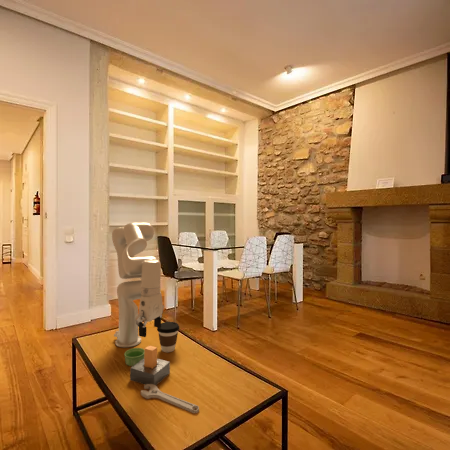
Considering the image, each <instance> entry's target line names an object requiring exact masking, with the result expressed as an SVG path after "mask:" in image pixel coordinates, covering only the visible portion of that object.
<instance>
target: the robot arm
mask: <svg viewBox="0 0 450 450" xmlns="http://www.w3.org/2000/svg"><path fill="white" fill-rule="evenodd" d="M154 234H155V229H154V226H153V225H152V224H151V223H149V222H129V223H127V224H126V225H124V226H119V227H116V228H114V229H113V230H112V232H111V239H112V244H113V246H114V248H115V250H116V251H115V252H116V256H117V266H118V267H117V268H118V269H117V270H118V276H119V278H120V279H122V280H129V279H130V280H131V279H140V280H131V281H124V282H120V283H119V284H118V285H117V287H116V294H117V302H118V330H116V331H115V333H114V334H113V336H114V337H117V338H116V340H115V345H116V346H117V347H119V348H132V347H135V346H137V345H139V344H141V342H142V338H146V337H147V324H148V322H152V321H153V327H154V328H157V327H158V328H161V323H162V318H163V313H164V308H165V305H164V304H163V294H162V292H161V279H162V278H161V275H162V273H161V272H162V271H161V270H162V269H161V267H162V266H161V265H162V264H161V261H160V260H159V259H158V258H157V257H156V256H151V255H150V256H136V255H138V254H141V253H142V252H144V251H145V250H146V248H147V246H148V241H151V240H152V239H153V238H154V236H155V235H154ZM135 256H136V257H135ZM136 300H139V307H138V305H137V304H136V302H134V301H136Z"/></svg>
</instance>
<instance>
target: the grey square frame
mask: <svg viewBox="0 0 450 450" xmlns="http://www.w3.org/2000/svg"><path fill="white" fill-rule="evenodd" d="M170 369H171V361H167V360H164V359H161V358H157V366H155V367H154V368H153V369H152V368H148V367H144V359H142V360H141V361H140V362H138V363H137V364H135V365H134V366H130V369H129V371H130V372H129V377H130V381H132V382H136V383H139V384H141V385H146V384H154V385H156V386H158V384H160V383H161V382H162V381H163V380H164V379H165V378H167V377H168V376H169V375H170V374H171V373H170V372H171V370H170Z"/></svg>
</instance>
